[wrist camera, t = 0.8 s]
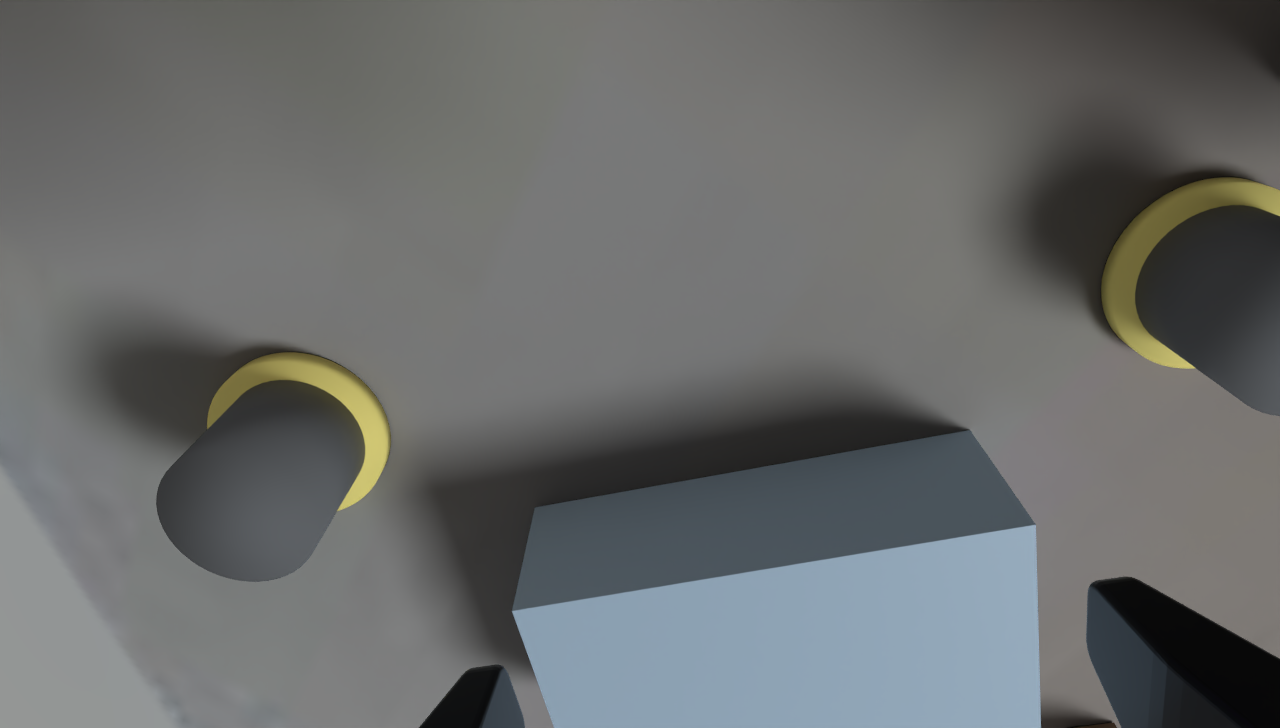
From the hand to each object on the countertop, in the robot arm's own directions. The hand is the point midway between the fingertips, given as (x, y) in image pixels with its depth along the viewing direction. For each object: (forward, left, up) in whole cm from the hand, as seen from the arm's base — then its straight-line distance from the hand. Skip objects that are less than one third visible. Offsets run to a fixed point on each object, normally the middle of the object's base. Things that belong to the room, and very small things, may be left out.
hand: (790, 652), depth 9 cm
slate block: (0, +9, -13) cm, 16 cm away
